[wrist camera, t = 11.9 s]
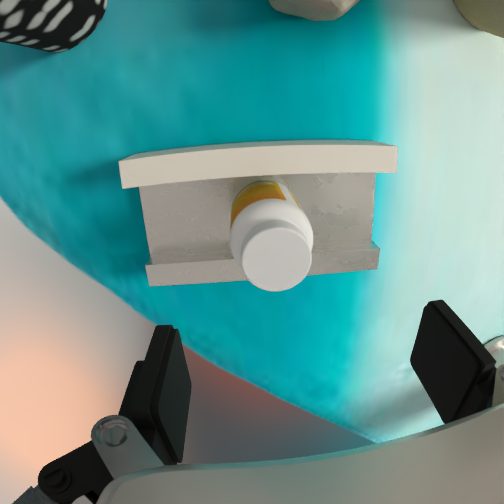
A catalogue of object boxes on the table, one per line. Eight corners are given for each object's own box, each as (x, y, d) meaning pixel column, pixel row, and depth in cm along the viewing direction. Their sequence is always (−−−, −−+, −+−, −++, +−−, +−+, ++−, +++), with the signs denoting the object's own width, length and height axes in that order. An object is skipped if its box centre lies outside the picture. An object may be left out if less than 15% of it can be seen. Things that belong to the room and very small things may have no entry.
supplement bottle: (219, 221, 27) (210, 277, 18) (252, 166, 25) (260, 196, 16) (274, 251, 28) (289, 316, 19) (308, 199, 27) (342, 245, 18)
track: (371, 139, 26) (397, 146, 21) (365, 254, 30) (386, 279, 26) (138, 152, 25) (118, 161, 21) (156, 270, 30) (144, 298, 25)
